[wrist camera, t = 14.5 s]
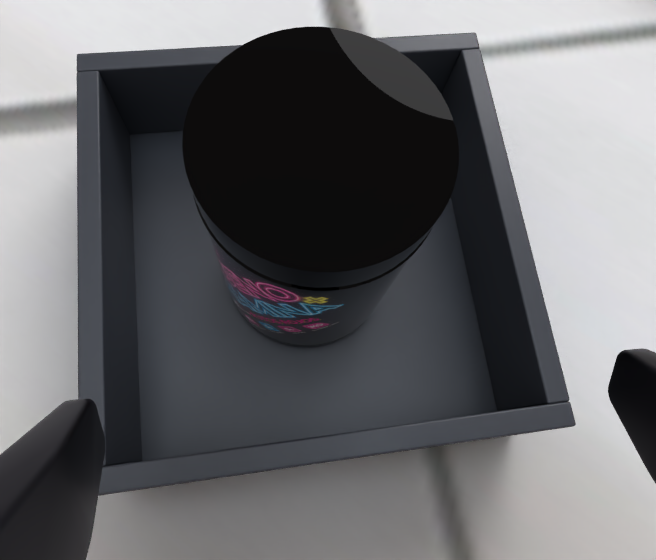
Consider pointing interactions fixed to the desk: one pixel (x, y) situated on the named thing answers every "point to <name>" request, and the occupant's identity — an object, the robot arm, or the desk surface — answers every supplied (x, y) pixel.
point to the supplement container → (317, 176)
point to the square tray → (273, 356)
